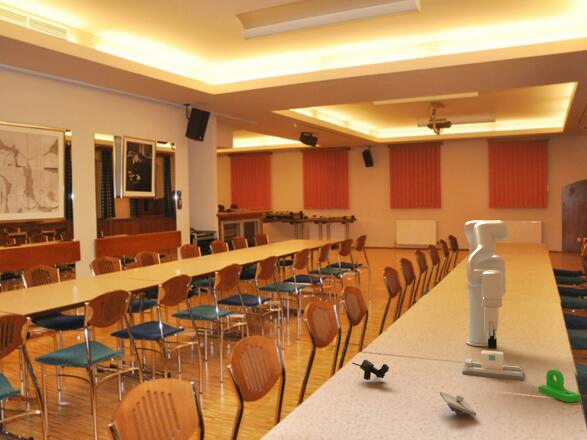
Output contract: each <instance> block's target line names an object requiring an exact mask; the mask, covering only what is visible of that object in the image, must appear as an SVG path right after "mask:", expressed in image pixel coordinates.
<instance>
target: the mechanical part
mask: <svg viewBox="0 0 587 440" xmlns="http://www.w3.org/2000/svg"><path fill="white" fill-rule="evenodd" d="M554 377H555V378H554ZM545 379H546V384H542V385H538V393H542V394H545V395H547V396H550V397H551V398H553V399H556V400H560V401H562V402H567V403H574V402H579V401H581V398H582V397H581V395H582V394H581V393H578V392H574V391H572V390H569V389H566V387H565V379H564V374H563V373H562V372H561V371H560V370H559V369H555V368H554V369H550V370H548V371H547V372H546V377H545ZM555 379H556V380H555Z"/></svg>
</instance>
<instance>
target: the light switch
mask: <svg viewBox="0 0 587 440" xmlns="http://www.w3.org/2000/svg"><path fill="white" fill-rule="evenodd" d="M439 396H440V397H441V398H442V399H443V401H444V402H445V403H446V405H447V407H448V408H449V409H450V410H451V411H452V412H454V413H455V414H457V415H462V414H463V413H466V414H469V415H472V416H474V417H476V416H477V412H476V411H475V410H474V408H472V406H471V404H469V403H468V401H466V400H464V399H465V397H464V396H462V395H461V394H456V396H453V395H450V394H447V393H445V392H442V391H440V392H439Z"/></svg>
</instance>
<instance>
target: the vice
mask: <svg viewBox="0 0 587 440" xmlns="http://www.w3.org/2000/svg"><path fill="white" fill-rule="evenodd" d="M351 364H352V365H355V366H358V367H359V368H360V369H361V370H362V371H363V380H366V381H370V380H371V375H372V374H374V375H375V376H376V378H381V379H382V380H383V379H384V378H385V376H386V373H388V372H389V369H390V366H388V364H386V363H383V364H382V366H381V367H380V369H378V368H377V367H374V366H375V364H374V363H372V362H371V361H369V359H363V361H362V363H361V364H358V363H355V362H352V363H351Z"/></svg>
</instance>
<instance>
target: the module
mask: <svg viewBox="0 0 587 440" xmlns="http://www.w3.org/2000/svg"><path fill="white" fill-rule="evenodd" d="M480 353H481V354H480V357H481V359H480V361H481V362H480V363H481V368H482V369H492V370H501V371H503V365H504V351H497V350H484V349H482V350H481V352H480Z"/></svg>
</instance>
